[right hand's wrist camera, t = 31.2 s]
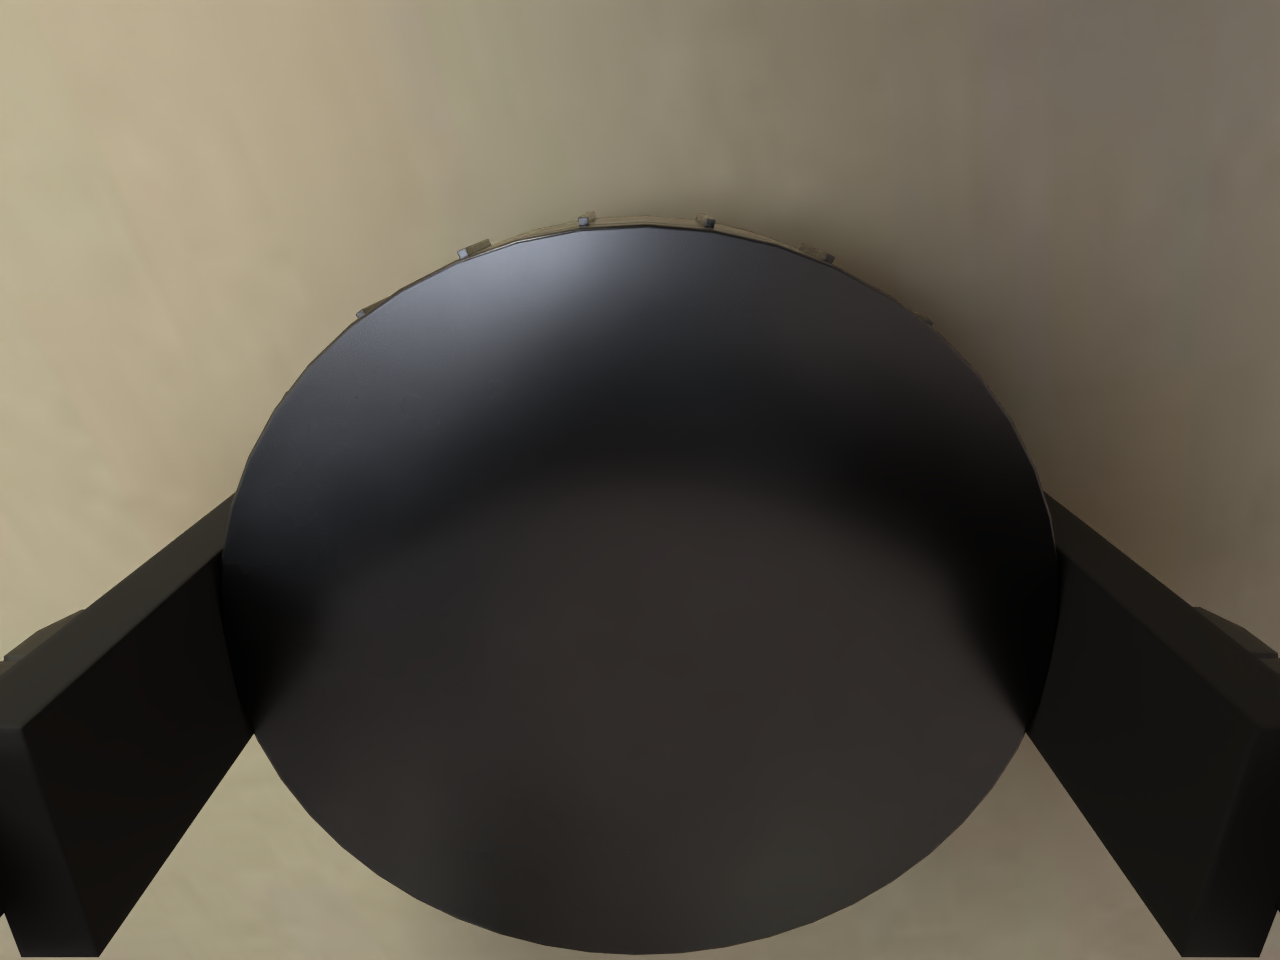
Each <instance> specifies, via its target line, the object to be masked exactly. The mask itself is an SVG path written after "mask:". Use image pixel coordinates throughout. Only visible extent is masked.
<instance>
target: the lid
mask: <svg viewBox="0 0 1280 960" xmlns="http://www.w3.org/2000/svg"><path fill="white" fill-rule="evenodd" d="M457 253H458V255H459V257H460V259H458V260H456V261H454V262H452V263H450V264H448V265H446V266H444V267H442V268H440V269H438V270H436V271H434V272H433V273H431V274H429V275H427V276H425V277H423V278H421V279H419V280H417V281H415V282H413V283H411V284H409V285H407V286H405V287H403V288H401V289H399V290H398V291H397V292H395V293H394V294H392V295H391V296H389V297H387V298H385V299H383V300H381V301H379V302H377V303H374V304H372V305H370V306H368V307H366V308H364V309H362V310H360V311H359V312H358V313H357V314H356V316H357V317H358V318H359V319H357V320H356V321H354V322H353V323H352V324H350V325H349V326H348V327H347V328H346V329H345V330H344V331H343V332H342V333H341V334H340V335H339V336H338V337H337V338H336V339H335V340H334V341H333V342H332V343H331V344H329V345H328V346H327V347H326V348H325V349H324V350H323V351H322V352H321V353H320V354H319V355H318V356H317V357H316V358H315V359H314V360H313V361H312V362H311V363H310V364H309V365H308V366H307V367H306V369H305V370H304V371H303V373H302V374H301V375H300V376H299V378H298V379H297V380H296V382H295V383H294V384H293V386H292V387H291V388H290V390H289V391H288V392H286V393H285V395H284V396H283V399H282V400H281V401H280V403H279V404H278V405H277V407H276V408H275V409H274V411H273V413H272V415H271V416H270V418H269V420H268V422H267V424H266V426H265V427H264V429H263V431H262V433H261V435H260V437H259V438H258V440H257V442H256V444H255V446H254V448H253V450H252V451H251V453H250V455H249V457H248V460H247V463H246V465H245V468H244V471H243V474H242V477H241V480H240V482H239V485H238V488H237V491H236V494H235V496H234V499H233V502H232V505H231V510H230V515H229V520H228V526H227V531H226V536H225V542H224V547H223V553H222V568H221V603H220V606H221V614H222V622H223V630H224V636H225V641H226V646H227V651H228V656H229V660H230V665H231V669H232V673H233V678H234V682H235V686H236V689H237V693H238V697H239V699H240V702H241V704H242V706H243V709H244V711H245V713H246V715H247V718H248V720H249V722H250V725H251V727H252V729H253V732H254V734H255V736H256V738H257V741H258V742H259V744H260V746H261V747H262V749H263V750H264V752H265V754H266V755H267V757H268V759H269V760H270V762H271V764H272V765H273V767H274V769H275V770H276V772H277V774H278V775H279V777H280V778H281V780H282V781H283V782H284V784H285V785H286V786H287V788H288V789H289V790H290V791H291V793H292V794H293V795H294V796H295V798H296V799H297V800H298V801H299V803H300V804H301V805H302V806H303V808H304V809H305V810H306V811H307V813H308V814H309V815H310V816H311V817H312V818H313V819H314V820H315V821H316V822H317V823H318V824H319V825H320V826H321V827H322V828H323V829H324V830H325V831H326V832H327V833H328V834H329V835H330V836H331V837H332V838H333V839H334V840H335V841H336V842H337V843H338V844H339V845H340V846H341V847H342V848H344V849H345V850H346V851H348V852H349V853H350V854H351V855H353V856H354V857H355V858H357V859H358V860H359V861H360V862H362V863H363V864H364V865H366V866H367V867H368V868H369V869H371V870H372V871H373V872H375V873H376V874H377V875H378V876H380V877H382V878H383V879H385V880H387V881H388V882H390V883H391V884H393V885H395V886H396V887H398V888H400V889H401V890H403V891H404V892H406V893H408V894H409V895H411V896H413V897H414V898H416V899H418V900H420V901H422V902H424V903H426V904H428V905H430V906H432V907H434V908H436V909H438V910H440V911H443V912H445V913H447V914H449V915H451V916H453V917H455V918H457V919H460V920H463V921H465V922H468V923H471V924H474V925H476V926H479V927H482V928H485V929H487V930H490V931H493V932H496V933H498V934H502V935H506V936H510V937H513V938H517V939H521V940H525V941H529V942H533V943H537V944H541V945H545V946H552V947H558V948H565V949H571V950H578V951H584V952H593V953H611V954H628V955H645V954H673V953H686V952H693V951H701V950H708V949H716V948H724V947H729V946H733V945H737V944H742V943H746V942H750V941H755V940H759V939H763V938H768V937H771V936H774V935H777V934H780V933H783V932H786V931H789V930H792V929H795V928H798V927H801V926H804V925H807V924H810V923H813V922H815V921H817V920H819V919H822V918H824V917H826V916H828V915H830V914H833V913H835V912H837V911H839V910H841V909H844V908H846V907H848V906H850V905H853V904H855V903H856V902H858V901H860V900H861V899H863V898H865V897H867V896H868V895H870V894H872V893H873V892H875V891H877V890H879V889H880V888H882V887H884V886H885V885H887V884H889V883H891V882H892V881H894V880H895V879H897V878H898V877H899V876H901V875H902V874H903V873H905V872H906V871H907V870H909V869H910V868H911V867H913V866H914V865H915V864H917V863H918V862H919V861H921V860H922V859H924V858H925V857H926V856H928V855H929V854H930V853H931V852H932V851H933V850H934V849H936V848H937V847H938V846H939V845H940V844H941V843H942V842H943V841H944V840H945V839H946V838H947V837H948V836H949V835H951V834H952V833H953V832H954V831H955V830H956V829H957V828H958V827H959V826H960V825H961V824H962V823H963V822H964V821H965V820H966V819H967V818H968V816H969V815H970V814H971V813H972V812H973V810H974V809H975V808H976V807H977V806H978V805H979V803H980V802H981V801H982V800H983V799H984V797H985V796H986V795H987V794H988V793H989V791H990V790H991V789H992V788H993V786H994V785H995V783H996V782H997V780H998V779H999V777H1000V776H1001V774H1002V772H1003V771H1004V769H1005V768H1006V766H1007V765H1008V763H1009V762H1010V760H1011V759H1012V757H1013V755H1014V754H1015V752H1016V751H1017V749H1018V747H1019V745H1020V743H1021V741H1022V739H1023V737H1024V734H1025V732H1026V730H1027V728H1028V726H1029V724H1030V722H1031V720H1032V717H1033V715H1034V713H1035V711H1036V709H1037V707H1038V703H1039V700H1040V697H1041V694H1042V691H1043V687H1044V684H1045V681H1046V678H1047V674H1048V671H1049V667H1050V662H1051V657H1052V652H1053V647H1054V641H1055V635H1056V629H1057V622H1058V616H1059V565H1058V559H1057V552H1056V546H1055V539H1054V532H1053V526H1052V519H1051V515H1050V511H1049V508H1048V505H1047V502H1046V499H1045V496H1044V492H1043V489H1042V486H1041V483H1040V480H1039V477H1038V474H1037V470H1036V467H1035V465H1034V463H1033V461H1032V459H1031V457H1030V455H1029V453H1028V451H1027V449H1026V447H1025V445H1024V443H1023V441H1022V439H1021V437H1020V435H1019V433H1018V431H1017V429H1016V427H1015V425H1014V423H1013V421H1012V419H1011V418H1010V417H1009V415H1008V414H1007V412H1006V411H1005V410H1004V408H1003V407H1002V405H1001V404H1000V402H999V401H998V400H997V398H996V397H995V395H994V394H993V393H992V391H991V390H990V388H989V387H988V386H987V384H986V383H985V381H984V380H983V379H982V377H981V376H980V374H979V373H978V372H977V371H976V370H975V369H974V368H973V367H972V366H971V365H970V364H969V363H968V362H967V361H966V360H965V359H964V358H963V357H962V356H961V355H960V354H959V353H958V352H957V351H956V350H955V349H954V348H953V347H952V346H951V345H950V344H949V343H948V341H947V340H946V339H945V338H944V337H943V336H942V335H941V334H940V333H939V332H937V331H936V330H935V329H933V328H932V327H931V326H932V325H933V322H932V321H931V320H930V319H929V318H927V317H925V316H923V315H921V314H919V313H917V312H915V311H913V310H911V309H909V308H907V307H905V306H903V305H902V304H901V303H899V302H898V301H897V300H895V299H894V298H893V297H891V296H890V295H888V294H886V293H884V292H882V291H881V290H879V289H877V288H875V287H873V286H871V285H870V284H868V283H866V282H864V281H862V280H861V279H859V278H857V277H855V276H853V275H852V274H850V273H848V272H846V271H844V270H842V269H841V268H839V267H837V266H835V265H833V264H832V262H833V260H834V258H835V257H834V256H831V255H829V254H827V253H825V252H822V251H820V250H817V249H815V248H812V247H810V246H807V245H805V244H802V245H801V247H800V249H796V248H794V247H791V246H788V245H786V244H783V243H780V242H778V241H775V240H773V239H770V238H767V237H765V236H762V235H759V234H757V233H754V232H751V231H746V230H742V229H737V228H733V227H728V226H724V225H720V224H715V220H714V219H712V218H711V217H709V216H707V215H705V214H700V213H697V218H696V220H693V219H681V218H669V217H657V216H628V217H609V218H595V212H587V213H585V214H584V215H582V216H581V217H579V218H578V221H576V222H571V223H565V224H560V225H555V226H550V227H545V228H540V229H536V230H533V231H530V232H527V233H525V234H522V235H519V236H516V237H513V238H510V239H507V240H504V241H501V242H498V243H495V244H493V245H491V244H490V241H489V239H486V240H484V241H481V242H479V243H476V244H474V245H471V246H469V247H467V248H464V249H462V250H459V251H458V252H457Z"/></svg>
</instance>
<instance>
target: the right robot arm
mask: <svg viewBox="0 0 1280 960" xmlns="http://www.w3.org/2000/svg"><path fill="white" fill-rule="evenodd" d="M1043 492H1044V491H1043ZM235 494H236V492H235V493H234V494H233V495H231V496H230V497H229V498H228V499H226V500H225V501H224V502H222V503H221V504H220V505H219V506H217V507H216V508H215V509H213V510H212V511H211V512H210V513H208V514H207V515H206V516H204V517H203V518H202V519H201V520H199V521H198V522H197V523H195V524H194V525H193V526H192V527H190V528H189V529H188V530H186V531H185V532H184V533H183V534H181V535H180V536H179V537H177V538H176V539H175V540H174V541H172V542H171V543H170V544H169V545H167V546H166V547H165V548H163V549H162V550H161V551H160V552H158V553H157V554H156V555H154V556H153V557H152V558H151V559H149V560H148V561H147V562H145V563H144V564H143V565H142V566H140V567H139V568H138V569H136V570H135V571H134V572H133V573H131V574H130V575H129V576H127V577H126V578H125V579H124V580H122V581H121V582H120V583H118V584H117V585H116V586H115V587H113V588H112V589H111V590H110V591H108V592H107V593H106V594H104V595H103V596H102V597H101V598H99V599H98V600H97V601H95V602H94V603H93V604H92V605H90V606H89V607H88V608H86V609H85V610H80V611H78V612H76V613H74V614H72V615H70V616H68V617H66V618H64V619H62V620H60V621H57V622H55V623H53V624H51V625H49V626H47V627H45V628H43V629H41V630H39V631H37V632H36V633H34V634H33V635H32V636H30V637H29V638H28V639H26V640H25V641H24V642H22V643H21V644H20V645H18V646H17V647H16V648H14V649H13V650H12V651H10V652H9V653H8V654H6V655H5V656H4V661H0V917H1V916H2V915H3V913H5V916H6V918H7V921H8V924H9V926H10V929H11V931H12V934H13V937H14V939H15V942H16V944H17V947H18V949H19V952H20V955H21V957H99V956H100V955H101V953H102V952H103V950H104V949H105V947H106V946H107V944H108V943H109V942H110V940H111V939H112V937H113V936H114V934H115V933H116V931H117V930H118V929H119V927H120V926H121V924H122V923H123V921H124V920H125V919H126V917H127V916H128V914H129V913H130V911H131V910H132V908H133V907H134V906H135V904H136V903H137V901H138V900H139V898H140V897H141V895H142V894H143V893H144V891H145V890H146V888H147V887H148V885H149V884H150V882H151V881H152V880H153V878H154V877H155V875H156V874H157V872H158V871H159V869H160V868H161V867H162V865H163V864H164V862H165V861H166V859H167V858H168V857H169V855H170V854H171V852H172V851H173V849H174V848H175V846H176V845H177V844H178V842H179V841H180V839H181V838H182V836H183V835H184V833H185V832H186V831H187V829H188V828H189V826H190V825H191V823H192V822H193V820H194V819H195V818H196V816H197V815H198V813H199V812H200V810H201V809H202V807H203V806H204V805H205V803H206V802H207V800H208V799H209V797H210V796H211V795H212V793H213V792H214V790H215V789H216V787H217V786H218V784H219V783H220V782H221V780H222V779H223V777H224V776H225V774H226V773H227V771H228V770H229V769H230V767H231V766H232V764H233V763H234V761H235V760H236V758H237V757H238V756H239V754H240V753H241V751H242V750H243V748H244V747H245V746H246V744H247V743H248V741H249V740H250V738H251V737H252V735H253V734H254V732H253V729H252V727H251V725H250V722H249V720H248V718H247V715H246V713H245V711H244V709H243V706H242V704H241V702H240V699H239V697H238V693H237V689H236V686H235V682H234V678H233V673H232V669H231V665H230V660H229V656H228V651H227V646H226V641H225V636H224V630H223V622H222V614H221V606H220V603H221V568H222V553H223V547H224V542H225V536H226V531H227V526H228V520H229V515H230V510H231V505H232V502H233V499H234V496H235ZM1044 496H1045V499H1046V502H1047V505H1048V508H1049V511H1050V515H1051V519H1052V526H1053V532H1054V539H1055V546H1056V552H1057V559H1058V565H1059V616H1058V622H1057V629H1056V635H1055V641H1054V647H1053V652H1052V657H1051V662H1050V667H1049V671H1048V674H1047V678H1046V681H1045V684H1044V687H1043V691H1042V694H1041V697H1040V700H1039V703H1038V707H1037V709H1036V711H1035V713H1034V715H1033V717H1032V720H1031V722H1030V724H1029V726H1028V728H1027V730H1026V733H1027V735H1028V736H1029V738H1030V739H1031V740H1032V742H1033V743H1034V745H1035V746H1036V748H1037V749H1038V750H1039V752H1040V753H1041V755H1042V756H1043V758H1044V759H1045V761H1046V762H1047V763H1048V765H1049V766H1050V768H1051V769H1052V771H1053V772H1054V774H1055V775H1056V776H1057V778H1058V779H1059V781H1060V782H1061V784H1062V785H1063V787H1064V788H1065V789H1066V791H1067V792H1068V794H1069V795H1070V797H1071V798H1072V800H1073V801H1074V802H1075V804H1076V805H1077V807H1078V808H1079V810H1080V811H1081V812H1082V814H1083V815H1084V817H1085V818H1086V820H1087V821H1088V823H1089V824H1090V825H1091V827H1092V828H1093V830H1094V831H1095V833H1096V834H1097V836H1098V837H1099V838H1100V840H1101V841H1102V843H1103V844H1104V846H1105V847H1106V849H1107V850H1108V851H1109V853H1110V854H1111V856H1112V857H1113V859H1114V860H1115V861H1116V863H1117V864H1118V866H1119V867H1120V869H1121V870H1122V872H1123V873H1124V874H1125V876H1126V877H1127V879H1128V880H1129V882H1130V883H1131V885H1132V886H1133V887H1134V889H1135V890H1136V892H1137V893H1138V895H1139V896H1140V898H1141V899H1142V900H1143V902H1144V903H1145V905H1146V906H1147V908H1148V909H1149V911H1150V912H1151V913H1152V915H1153V916H1154V918H1155V919H1156V921H1157V922H1158V923H1159V925H1160V926H1161V928H1162V929H1163V931H1164V932H1165V934H1166V935H1167V936H1168V938H1169V939H1170V941H1171V942H1172V944H1173V945H1174V947H1175V948H1176V949H1177V951H1178V952H1179V954H1180V955H1181V957H1260V954H1261V951H1262V949H1263V946H1264V944H1265V941H1266V938H1267V936H1268V933H1269V931H1270V928H1271V926H1272V923H1273V920H1274V918H1275V915H1276V913H1277V910H1278V911H1279V912H1280V659H1279V658H1278V653H1277V652H1275V651H1274V650H1272V649H1271V648H1270V647H1268V646H1267V645H1266V644H1264V643H1263V642H1262V641H1260V640H1259V639H1258V638H1256V637H1255V636H1254V635H1252V634H1251V633H1250V632H1248V631H1247V630H1246V629H1244V628H1242V627H1240V626H1238V625H1236V624H1234V623H1232V622H1230V621H1228V620H1226V619H1224V618H1222V617H1219V616H1217V615H1215V614H1213V613H1211V612H1209V611H1207V610H1205V609H1203V608H1201V607H1192V606H1190V605H1189V604H1188V603H1186V602H1185V601H1184V600H1183V599H1181V598H1180V597H1179V596H1177V595H1176V594H1175V593H1174V592H1172V591H1171V590H1170V589H1169V588H1167V587H1166V586H1165V585H1163V584H1162V583H1161V582H1160V581H1158V580H1157V579H1156V578H1154V577H1153V576H1152V575H1151V574H1149V573H1148V572H1147V571H1145V570H1144V569H1143V568H1142V567H1140V566H1139V565H1138V564H1136V563H1135V562H1134V561H1133V560H1131V559H1130V558H1129V557H1127V556H1126V555H1125V554H1124V553H1122V552H1121V551H1120V550H1118V549H1117V548H1116V547H1115V546H1113V545H1112V544H1111V543H1110V542H1108V541H1107V540H1106V539H1104V538H1103V537H1102V536H1101V535H1099V534H1098V533H1097V532H1095V531H1094V530H1093V529H1092V528H1090V527H1089V526H1088V525H1086V524H1085V523H1084V522H1083V521H1081V520H1080V519H1079V518H1077V517H1076V516H1075V515H1074V514H1072V513H1071V512H1070V511H1068V510H1067V509H1066V508H1065V507H1063V506H1062V505H1061V504H1059V503H1058V502H1057V501H1056V500H1054V499H1053V498H1052V497H1050V496H1049V495H1048V494H1047V493H1045V492H1044Z"/></svg>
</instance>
